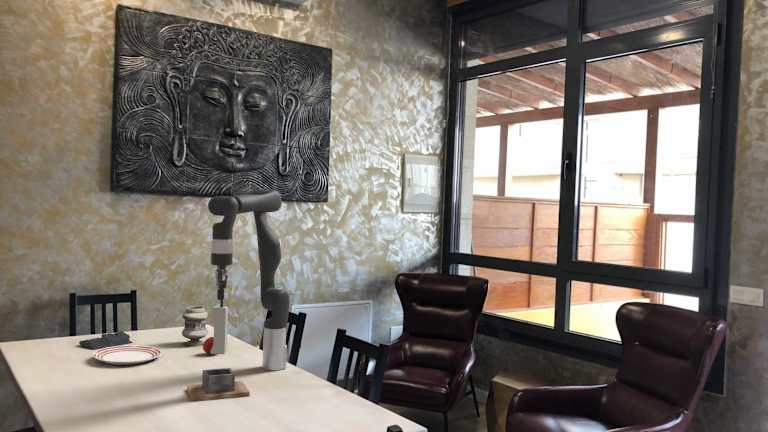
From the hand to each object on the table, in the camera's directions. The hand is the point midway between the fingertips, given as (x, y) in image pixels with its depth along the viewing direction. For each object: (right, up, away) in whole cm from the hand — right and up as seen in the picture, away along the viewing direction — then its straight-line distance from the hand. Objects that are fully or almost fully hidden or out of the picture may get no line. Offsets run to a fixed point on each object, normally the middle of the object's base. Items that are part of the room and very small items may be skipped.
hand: (220, 299), depth 218 cm
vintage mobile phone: (-1, -20, 0) cm, 20 cm away
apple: (-18, -33, +54) cm, 66 cm away
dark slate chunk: (-72, -31, +66) cm, 102 cm away
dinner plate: (-51, -32, +40) cm, 72 cm away
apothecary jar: (-32, -32, +72) cm, 85 cm away
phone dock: (-1, -34, 0) cm, 34 cm away
